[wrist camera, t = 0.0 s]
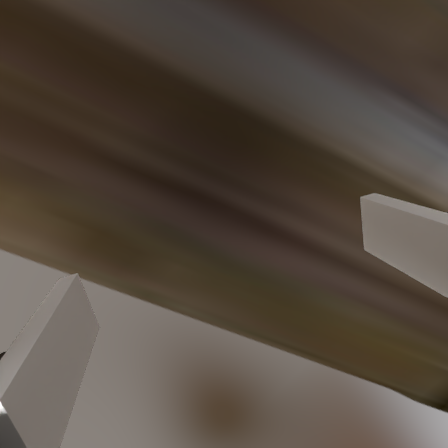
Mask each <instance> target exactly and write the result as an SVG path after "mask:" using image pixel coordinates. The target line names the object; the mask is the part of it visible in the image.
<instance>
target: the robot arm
mask: <svg viewBox="0 0 448 448" xmlns="http://www.w3.org/2000/svg"><path fill="white" fill-rule="evenodd" d="M360 201H361V214H362V227H363V240H364V250H366V251H367V252H369V253H371V254H373V255H374V256H376V257H378V258H379V259H381V260H383V261H385V262H386V263H388V264H390V265H392V266H393V267H395V268H397V269H399V270H400V271H402V272H404V273H406V274H407V275H409V276H411V277H412V278H414V279H416V280H418V281H419V282H421V283H423V284H425V285H426V286H428V287H430V288H432V289H433V290H435V291H437V292H439V293H440V294H442V295H444V296H446V297H447V298H448V213H445V212H441V211H437V210H434V209H430V208H427V207H423V206H420V205H416V204H412V203H409V202H405V201H402V200H398V199H394V198H391V197H387V196H384V195H380V194H376V193H373V194H370V195H366V196H362V197H360ZM98 330H99V324H98V322H97V319H96V317H95V314H94V312H93V309H92V307H91V304H90V302H89V300H88V297H87V295H86V292H85V290H84V287H83V285H82V282H81V280H80V277H79V275H78V273H76V274H73V275H69V276H66V277H61V278H59V279H58V281H57V282H56V283H55V285H54V286H53V288H52V289H51V291H50V292H49V293H48V295H47V296H46V297H45V299H44V300H43V302H42V303H41V304H40V306H39V307H38V308H37V310H36V311H35V312H34V314H33V315H32V317H31V318H30V319H29V321H28V322H27V324H26V325H25V326H24V328H23V329H22V331H21V332H20V334H19V335H18V336H17V337H16V339H15V340H14V342H13V343H12V345H11V346H10V348H9V349H8V350H7V351H6V352H3V353H1V354H0V448H60V445H61V442H62V439H63V436H64V433H65V430H66V427H67V424H68V421H69V418H70V415H71V412H72V409H73V406H74V403H75V400H76V397H77V394H78V391H79V388H80V385H81V382H82V378H83V376H84V373H85V370H86V366H87V363H88V360H89V357H90V354H91V351H92V348H93V345H94V342H95V339H96V336H97V333H98Z"/></svg>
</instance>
